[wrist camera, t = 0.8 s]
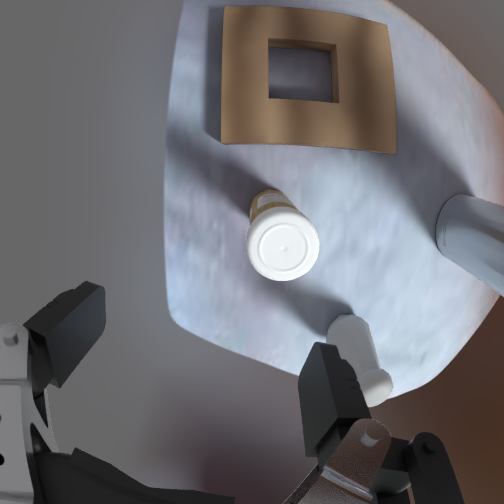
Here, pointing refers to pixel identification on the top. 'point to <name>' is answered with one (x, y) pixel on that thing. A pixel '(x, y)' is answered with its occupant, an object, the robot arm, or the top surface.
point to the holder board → (304, 111)
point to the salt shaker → (360, 356)
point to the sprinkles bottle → (280, 237)
